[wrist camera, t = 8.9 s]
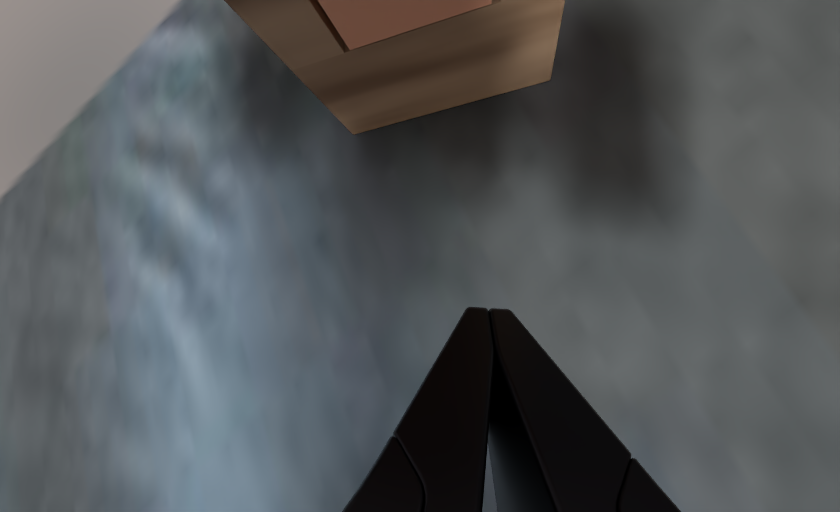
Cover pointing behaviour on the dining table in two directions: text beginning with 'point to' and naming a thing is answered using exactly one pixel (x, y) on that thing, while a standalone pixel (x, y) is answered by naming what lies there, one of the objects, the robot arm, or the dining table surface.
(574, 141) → the dining table surface
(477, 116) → the dining table surface
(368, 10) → the peg
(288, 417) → the dining table surface
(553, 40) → the sleeve block
